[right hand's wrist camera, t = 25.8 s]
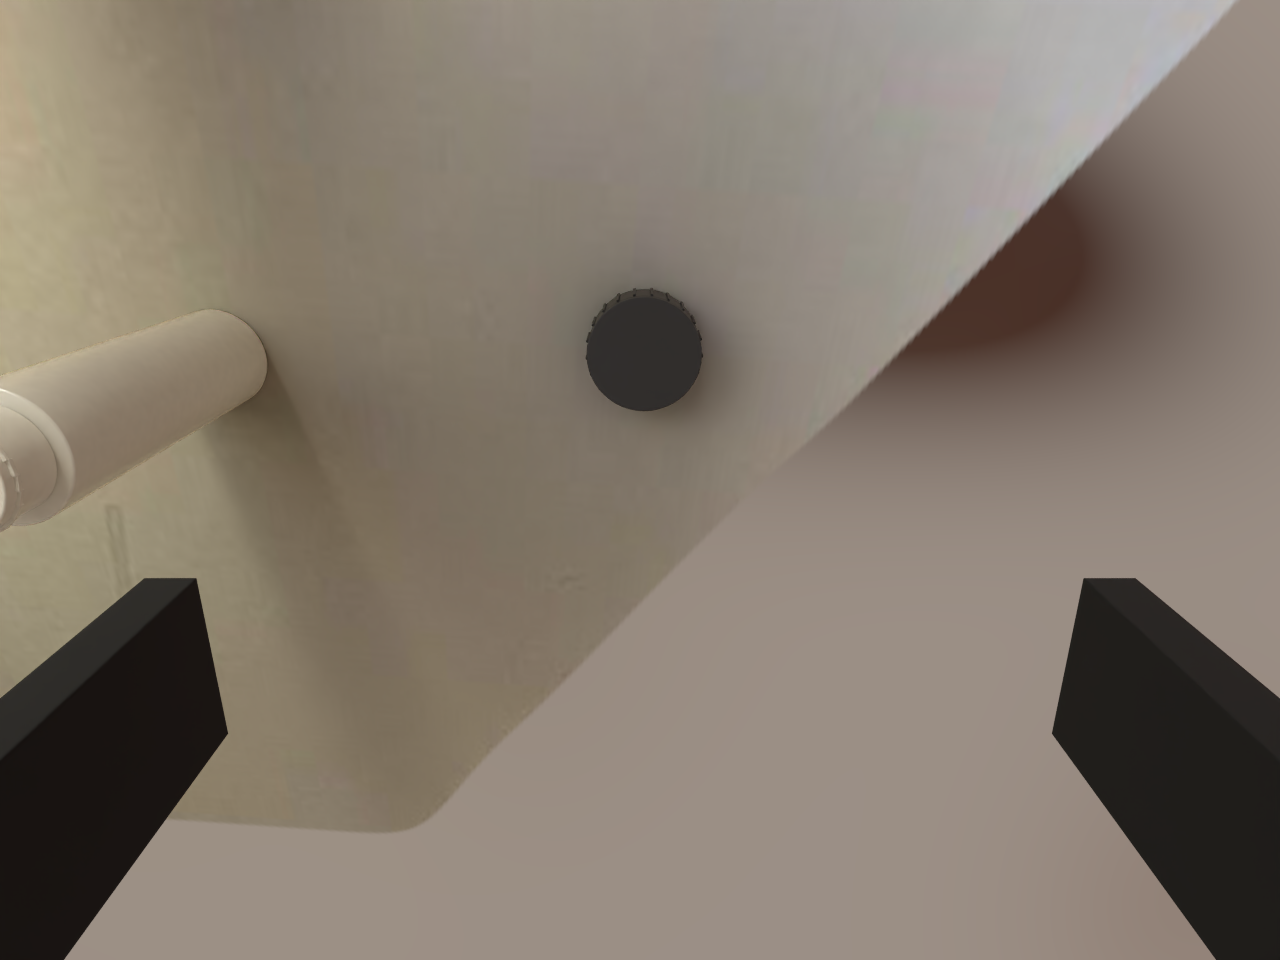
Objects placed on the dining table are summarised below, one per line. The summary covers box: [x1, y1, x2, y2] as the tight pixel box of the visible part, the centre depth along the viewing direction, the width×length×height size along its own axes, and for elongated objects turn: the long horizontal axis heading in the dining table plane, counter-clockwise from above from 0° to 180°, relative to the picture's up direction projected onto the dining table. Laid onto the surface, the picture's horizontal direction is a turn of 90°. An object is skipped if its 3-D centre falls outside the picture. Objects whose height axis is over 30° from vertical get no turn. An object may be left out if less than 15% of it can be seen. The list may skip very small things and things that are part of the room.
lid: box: [586, 288, 703, 411], centre depth 36 cm, size 5×5×2 cm
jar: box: [0, 309, 267, 532], centre depth 30 cm, size 4×4×16 cm
